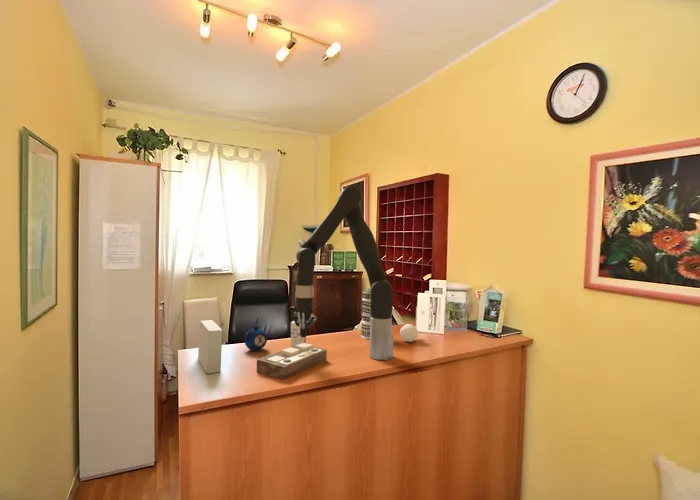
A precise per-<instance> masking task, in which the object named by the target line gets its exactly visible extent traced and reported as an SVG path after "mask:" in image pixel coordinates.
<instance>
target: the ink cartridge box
mask: <svg viewBox="0 0 700 500" xmlns="http://www.w3.org/2000/svg"><path fill="white" fill-rule="evenodd" d="M305 325H306V324H305ZM301 343H306V344H307V336H306V337H305V338H303V337H301V336H300V328H299V326H296V324H295V322H294V320H293V321H291V322H290V347H294V346H296V345H299V344H301Z"/></svg>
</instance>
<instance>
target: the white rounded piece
mask: <svg viewBox="0 0 700 500" xmlns="http://www.w3.org/2000/svg"><path fill="white" fill-rule="evenodd" d="M399 334H400V337H401V339H402V340H403V341H405V342H408V343H411V342H414V341H415V340H416V339H417V338H418V336H419V331H418V328H417V326H415V325H414V324H410V323H406V324H404V325H403V326H402V327H401V328H400V329H399Z"/></svg>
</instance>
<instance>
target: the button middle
mask: <svg viewBox="0 0 700 500" xmlns="http://www.w3.org/2000/svg"><path fill="white" fill-rule="evenodd" d="M281 351H282V355H285V356H289V357H292V356H295V355H298V354H300V350H299V349H295V348H291V346H290V347H288V348H284V349H282V350H281Z"/></svg>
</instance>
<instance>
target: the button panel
mask: <svg viewBox="0 0 700 500" xmlns="http://www.w3.org/2000/svg"><path fill="white" fill-rule="evenodd" d="M290 347H291V346H290ZM291 348H295V346H294V347H291ZM313 348H316V349H320V350H323V351H321V352H318V353H316V354H313V355H311V356H308V357H306V358H303V359H301V360H299V361H296V362H294V363H291V364H289V365H284V364H280V363H278V362H277V363H275V362H271V361H268V360H266V359H268V358H271V357H274V356H280V357H283V358H286V359H287V358H290V357H289V356H285V355H282V350H280V351H277V352H275V353H272V354H268V355H266V356H263V357H261V358H258V359H256V372H257V373H261V374H264V375H267V376H270V377H273V378H277V379H280V380H283V381H285V380H286V379H289V378H291V377H293V376H295V375H298V374H300V373H302V372H305V371H306V370H309V369H311V368H313V367H315V366H318V365H320V364H323V363H324V362H326V361H328V360H327V357H328V355H327V354H328V353H327V350H328V349H325V348H320V347H317V346H312V349H313ZM300 353H303V351H300Z"/></svg>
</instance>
